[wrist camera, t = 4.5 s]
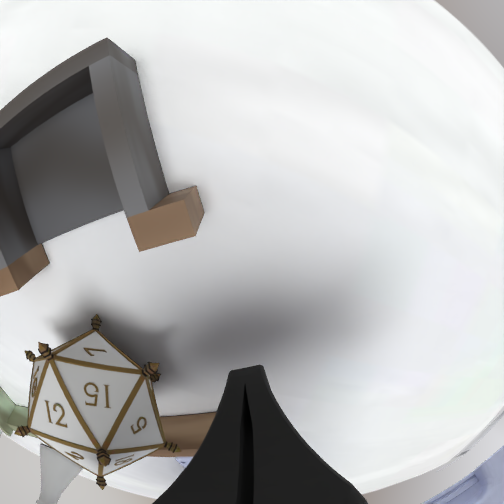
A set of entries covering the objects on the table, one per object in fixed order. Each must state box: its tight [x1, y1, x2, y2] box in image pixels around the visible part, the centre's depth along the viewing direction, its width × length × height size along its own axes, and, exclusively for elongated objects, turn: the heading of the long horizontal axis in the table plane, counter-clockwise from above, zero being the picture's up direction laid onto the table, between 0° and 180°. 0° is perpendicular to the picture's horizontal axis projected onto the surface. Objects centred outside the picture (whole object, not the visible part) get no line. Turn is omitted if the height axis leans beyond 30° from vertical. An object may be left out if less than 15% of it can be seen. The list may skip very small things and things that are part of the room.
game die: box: [14, 314, 182, 490], centre depth 10 cm, size 9×8×10 cm
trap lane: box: [0, 38, 216, 457], centre depth 11 cm, size 22×29×4 cm
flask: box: [36, 444, 83, 504], centre depth 17 cm, size 7×7×10 cm
